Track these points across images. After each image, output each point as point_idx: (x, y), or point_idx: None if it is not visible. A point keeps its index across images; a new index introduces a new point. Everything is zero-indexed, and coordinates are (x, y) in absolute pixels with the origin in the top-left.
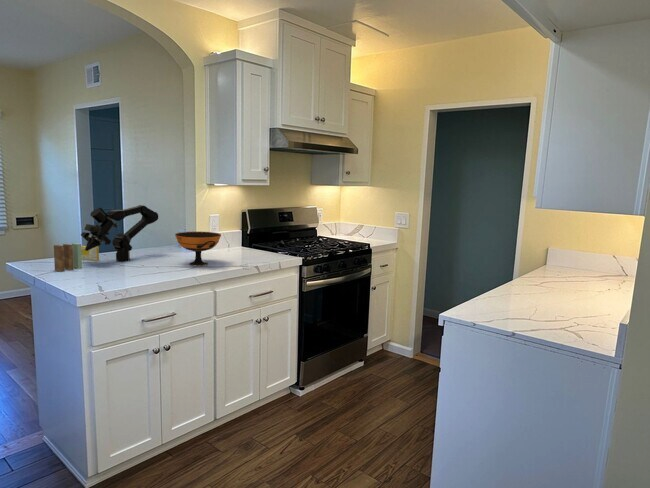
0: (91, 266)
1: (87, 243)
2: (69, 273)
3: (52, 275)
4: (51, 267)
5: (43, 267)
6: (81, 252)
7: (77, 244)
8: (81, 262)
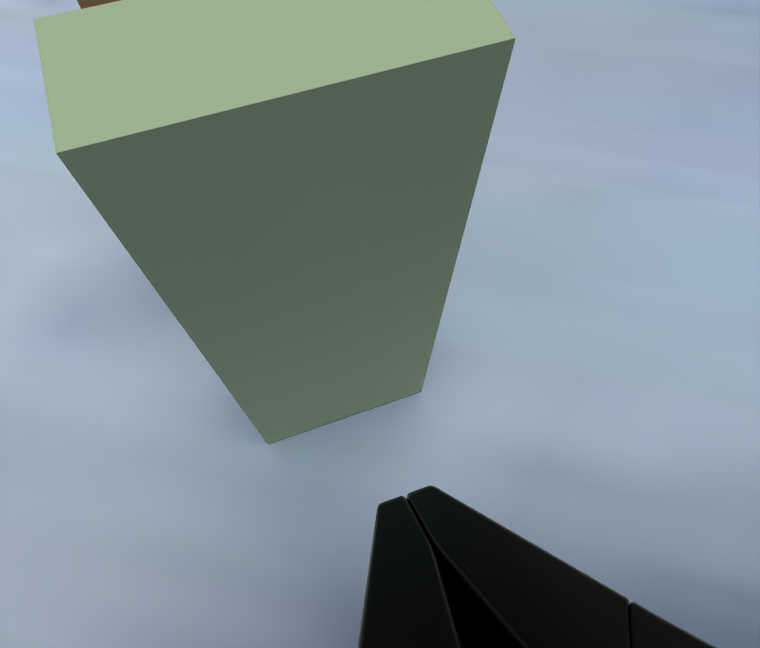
0: (346, 639)
1: (639, 643)
2: (6, 216)
3: (35, 63)
4: (529, 133)
5: (565, 72)
6: (190, 333)
7: (42, 21)
8: (247, 409)
